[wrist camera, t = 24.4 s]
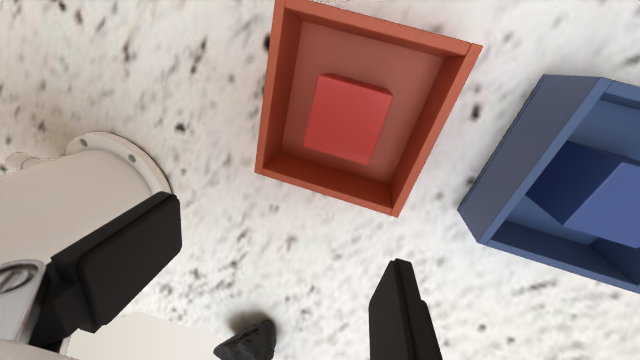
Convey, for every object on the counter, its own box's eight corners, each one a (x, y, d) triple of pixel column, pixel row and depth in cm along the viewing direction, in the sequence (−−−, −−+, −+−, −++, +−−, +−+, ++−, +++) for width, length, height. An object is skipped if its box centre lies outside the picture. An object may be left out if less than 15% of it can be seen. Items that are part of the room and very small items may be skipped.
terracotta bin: (274, 153, 22) (253, 172, 18) (298, 9, 16) (275, -9, 13) (392, 189, 21) (397, 218, 17) (455, 51, 16) (483, 46, 12)
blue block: (520, 192, 18) (562, 226, 14) (561, 138, 16) (622, 161, 12) (579, 209, 18) (637, 249, 14) (628, 157, 16) (712, 187, 12)
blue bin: (456, 209, 21) (476, 243, 17) (543, 74, 15) (601, 76, 11) (587, 250, 20) (640, 294, 16) (724, 122, 15) (852, 142, 11)
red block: (316, 130, 20) (302, 146, 16) (330, 72, 17) (318, 74, 13) (368, 145, 19) (368, 166, 15) (388, 89, 17) (394, 95, 13)
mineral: (302, 353, 35) (290, 402, 30) (258, 359, 38) (240, 404, 33) (263, 307, 32) (242, 353, 27) (219, 318, 36) (193, 361, 30)
